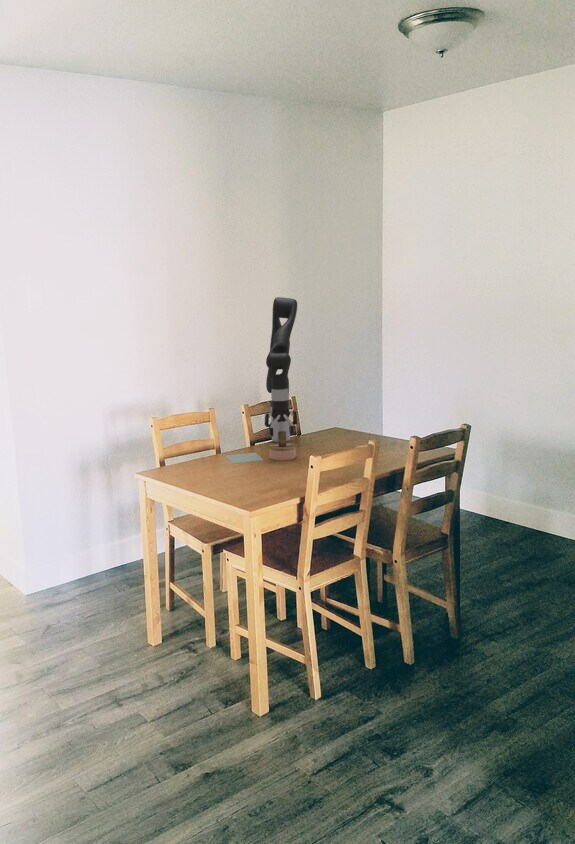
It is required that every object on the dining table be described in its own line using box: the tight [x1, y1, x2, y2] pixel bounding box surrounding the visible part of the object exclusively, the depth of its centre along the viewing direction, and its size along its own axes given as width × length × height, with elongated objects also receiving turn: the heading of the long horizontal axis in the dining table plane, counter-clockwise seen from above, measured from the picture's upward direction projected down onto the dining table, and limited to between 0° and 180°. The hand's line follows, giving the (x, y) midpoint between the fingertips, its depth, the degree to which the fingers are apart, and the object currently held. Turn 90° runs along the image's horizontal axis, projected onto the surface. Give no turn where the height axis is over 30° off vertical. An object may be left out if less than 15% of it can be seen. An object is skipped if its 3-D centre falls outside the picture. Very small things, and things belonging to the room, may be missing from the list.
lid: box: [268, 431, 297, 451], centre depth 315 cm, size 12×12×7 cm
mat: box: [225, 452, 264, 464], centre depth 319 cm, size 16×14×1 cm
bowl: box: [268, 447, 297, 462], centre depth 316 cm, size 11×11×5 cm
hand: (281, 435), depth 314 cm, fingers open, 8 cm apart
